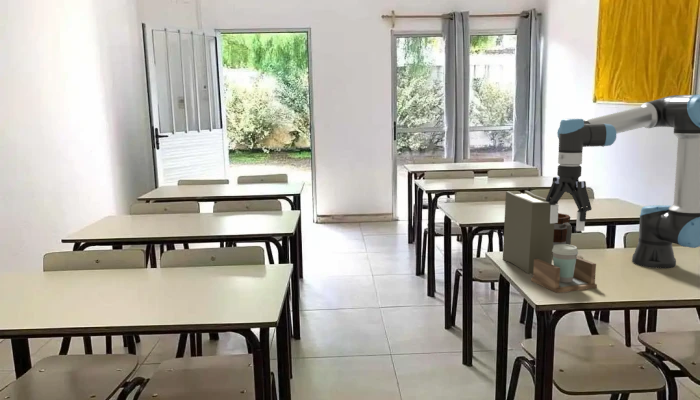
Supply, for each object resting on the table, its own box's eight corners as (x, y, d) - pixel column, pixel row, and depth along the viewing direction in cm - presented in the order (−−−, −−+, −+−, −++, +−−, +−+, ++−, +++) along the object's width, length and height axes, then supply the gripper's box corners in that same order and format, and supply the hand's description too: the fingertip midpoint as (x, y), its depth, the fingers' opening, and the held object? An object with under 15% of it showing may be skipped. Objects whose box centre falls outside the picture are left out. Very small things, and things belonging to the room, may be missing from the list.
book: (552, 274, 215) (557, 200, 210) (529, 275, 213) (533, 201, 208) (523, 258, 236) (527, 190, 230) (502, 259, 234) (505, 191, 228)
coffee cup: (578, 284, 195) (580, 250, 193) (552, 283, 197) (553, 249, 195) (574, 277, 204) (576, 244, 202) (549, 276, 205) (550, 243, 203)
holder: (569, 276, 210) (570, 254, 208) (596, 287, 197) (598, 264, 195) (531, 281, 205) (532, 258, 203) (556, 292, 192) (558, 269, 190)
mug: (530, 246, 254) (531, 213, 251) (558, 245, 256) (560, 212, 254) (553, 258, 235) (555, 222, 232) (583, 256, 237) (585, 220, 235)
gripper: (537, 162, 204) (534, 220, 208) (586, 169, 181) (582, 235, 185) (555, 161, 207) (552, 219, 210) (605, 168, 183) (601, 233, 187)
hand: (566, 226), depth 197 cm, fingers open, 13 cm apart
